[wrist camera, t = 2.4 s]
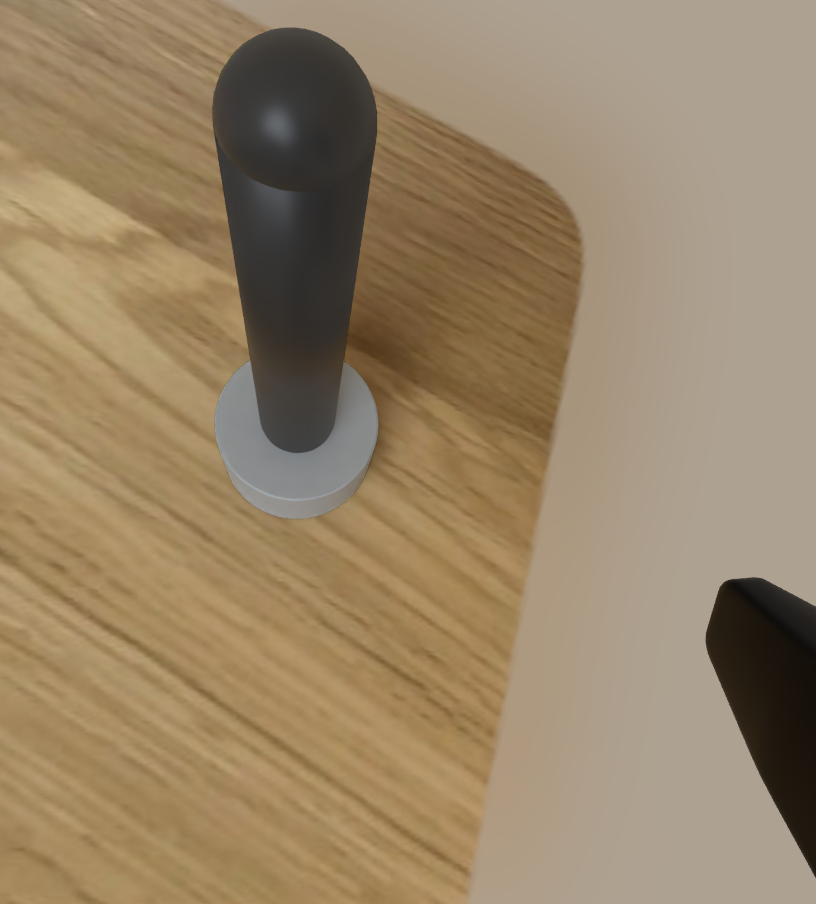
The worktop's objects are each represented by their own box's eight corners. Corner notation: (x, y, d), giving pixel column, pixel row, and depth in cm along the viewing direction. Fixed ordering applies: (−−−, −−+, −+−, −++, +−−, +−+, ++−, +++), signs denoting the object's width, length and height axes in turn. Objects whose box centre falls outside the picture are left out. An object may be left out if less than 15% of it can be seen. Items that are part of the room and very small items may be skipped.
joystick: (341, 539, 20) (423, 298, 7) (200, 489, 20) (7, 144, 7) (389, 408, 22) (536, -14, 8) (256, 359, 22) (184, -150, 8)
